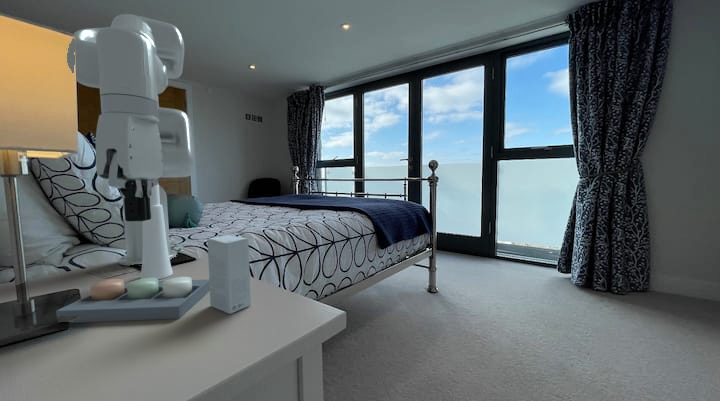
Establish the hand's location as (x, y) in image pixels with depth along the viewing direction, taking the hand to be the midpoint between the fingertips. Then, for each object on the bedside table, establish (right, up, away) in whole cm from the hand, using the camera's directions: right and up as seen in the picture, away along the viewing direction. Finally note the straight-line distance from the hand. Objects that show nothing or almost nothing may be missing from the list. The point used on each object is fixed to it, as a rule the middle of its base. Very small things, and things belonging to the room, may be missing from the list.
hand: (138, 220), depth 50 cm
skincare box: (+15, -15, +1) cm, 22 cm away
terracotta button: (-6, -13, +1) cm, 15 cm away
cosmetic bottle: (-8, -14, +16) cm, 23 cm away
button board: (0, -15, +1) cm, 15 cm away
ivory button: (+6, -13, +2) cm, 15 cm away
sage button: (0, -13, +1) cm, 13 cm away
